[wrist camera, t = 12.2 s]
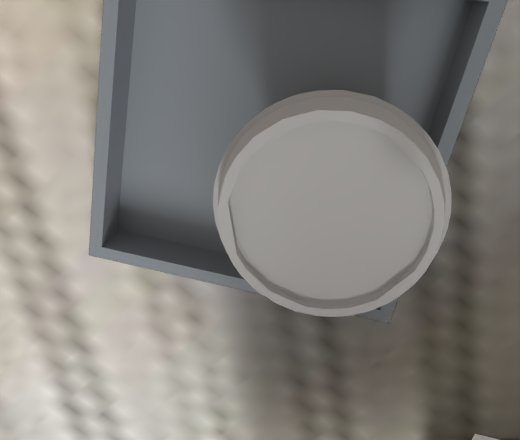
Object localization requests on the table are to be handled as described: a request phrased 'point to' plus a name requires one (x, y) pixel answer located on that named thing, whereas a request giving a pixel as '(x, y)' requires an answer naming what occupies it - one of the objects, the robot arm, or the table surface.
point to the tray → (253, 102)
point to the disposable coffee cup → (332, 202)
